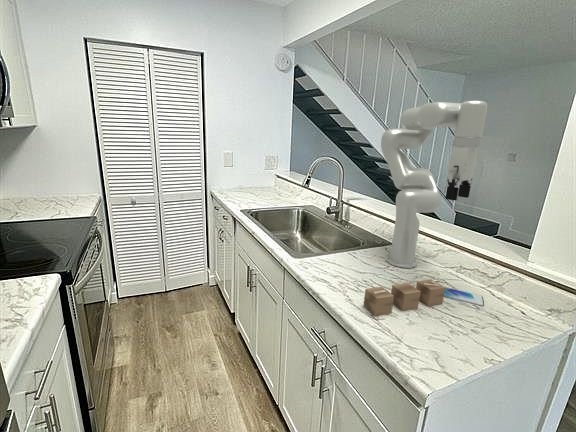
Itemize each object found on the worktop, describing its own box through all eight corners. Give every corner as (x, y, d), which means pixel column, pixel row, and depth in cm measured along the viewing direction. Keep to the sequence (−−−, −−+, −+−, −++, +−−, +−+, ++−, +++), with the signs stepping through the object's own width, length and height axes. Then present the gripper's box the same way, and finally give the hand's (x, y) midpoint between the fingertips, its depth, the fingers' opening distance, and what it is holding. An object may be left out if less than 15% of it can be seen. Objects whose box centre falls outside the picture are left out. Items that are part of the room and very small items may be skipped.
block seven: (414, 297, 106) (417, 280, 104) (428, 295, 108) (431, 278, 106) (427, 307, 100) (430, 289, 99) (442, 304, 102) (445, 286, 101)
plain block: (389, 301, 102) (392, 285, 101) (404, 299, 104) (407, 282, 103) (402, 311, 97) (405, 294, 95) (417, 308, 99) (420, 291, 97)
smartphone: (484, 306, 102) (434, 293, 108) (484, 308, 102) (433, 295, 109) (483, 296, 108) (435, 284, 115) (482, 298, 108) (435, 286, 115)
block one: (363, 306, 99) (365, 288, 97) (379, 303, 101) (381, 285, 99) (374, 316, 93) (377, 297, 92) (391, 313, 96) (394, 295, 94)
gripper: (464, 143, 106) (455, 194, 110) (442, 142, 94) (433, 198, 99) (489, 144, 100) (479, 198, 104) (469, 143, 89) (458, 203, 93)
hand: (457, 198), depth 101 cm, fingers open, 9 cm apart
